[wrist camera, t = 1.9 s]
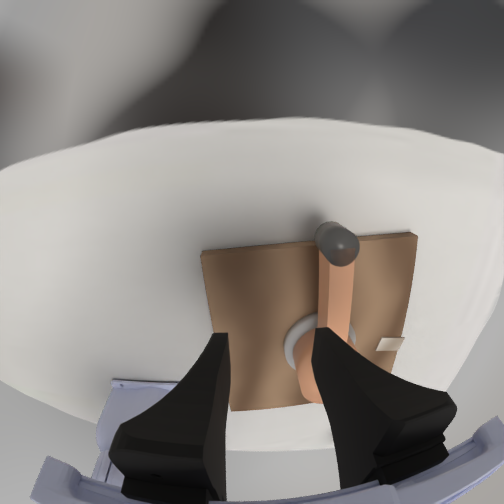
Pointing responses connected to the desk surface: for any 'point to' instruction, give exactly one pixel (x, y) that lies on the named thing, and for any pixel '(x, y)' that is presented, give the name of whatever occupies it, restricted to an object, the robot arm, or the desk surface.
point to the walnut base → (301, 310)
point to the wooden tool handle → (329, 298)
